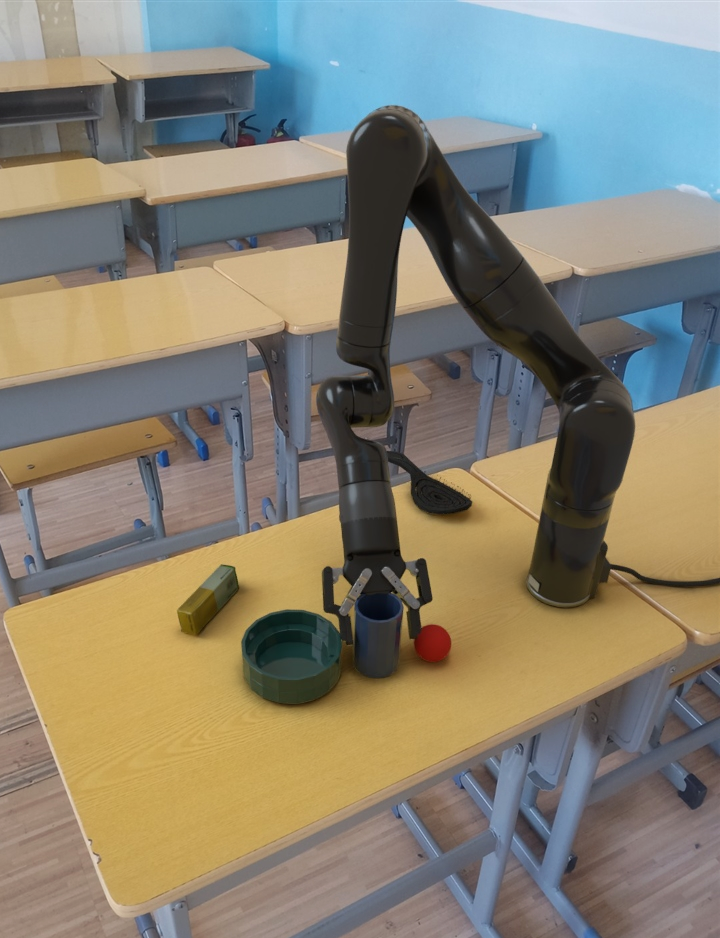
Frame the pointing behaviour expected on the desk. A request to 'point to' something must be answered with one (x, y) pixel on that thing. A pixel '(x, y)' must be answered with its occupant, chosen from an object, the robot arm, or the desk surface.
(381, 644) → the pencil cup
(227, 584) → the medication box
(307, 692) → the bowl
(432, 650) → the ball
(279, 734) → the desk surface
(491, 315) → the robot arm
